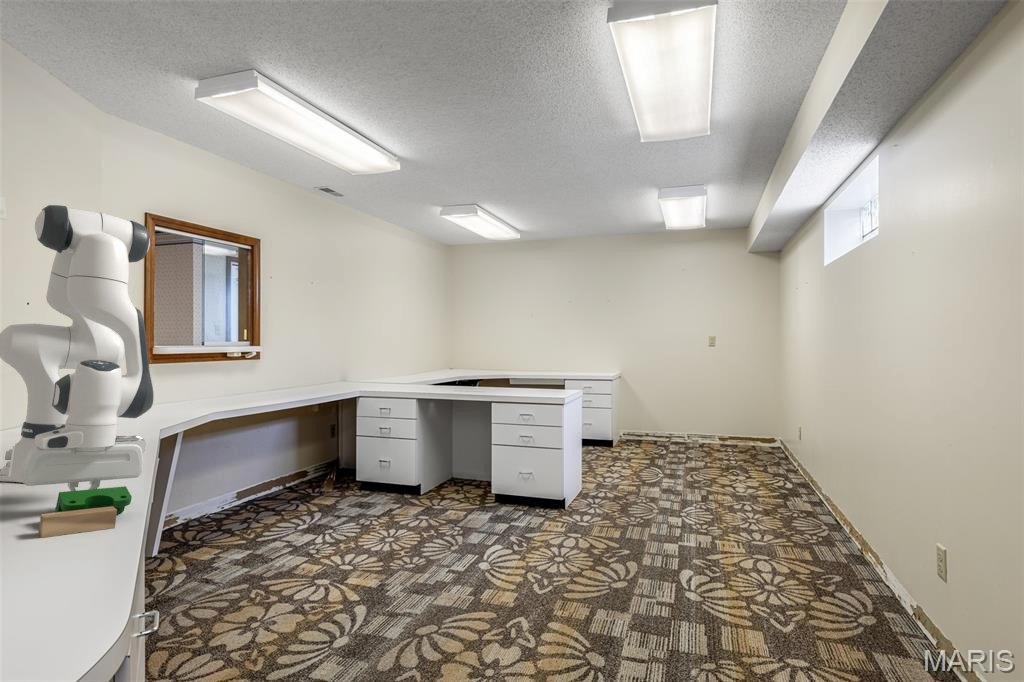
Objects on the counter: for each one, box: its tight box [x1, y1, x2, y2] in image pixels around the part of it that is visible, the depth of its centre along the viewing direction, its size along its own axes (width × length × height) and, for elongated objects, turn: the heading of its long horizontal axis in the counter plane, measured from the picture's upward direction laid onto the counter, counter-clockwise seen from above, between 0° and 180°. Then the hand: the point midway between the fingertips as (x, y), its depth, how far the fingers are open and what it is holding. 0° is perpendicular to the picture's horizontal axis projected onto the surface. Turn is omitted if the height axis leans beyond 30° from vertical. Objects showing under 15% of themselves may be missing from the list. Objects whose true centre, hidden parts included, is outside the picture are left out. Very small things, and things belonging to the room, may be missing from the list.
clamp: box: [54, 486, 132, 516], centre depth 109 cm, size 12×6×9 cm, turn 133°
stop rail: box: [38, 506, 118, 539], centre depth 102 cm, size 3×11×4 cm, turn 140°
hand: (81, 502), depth 113 cm, fingers closed
